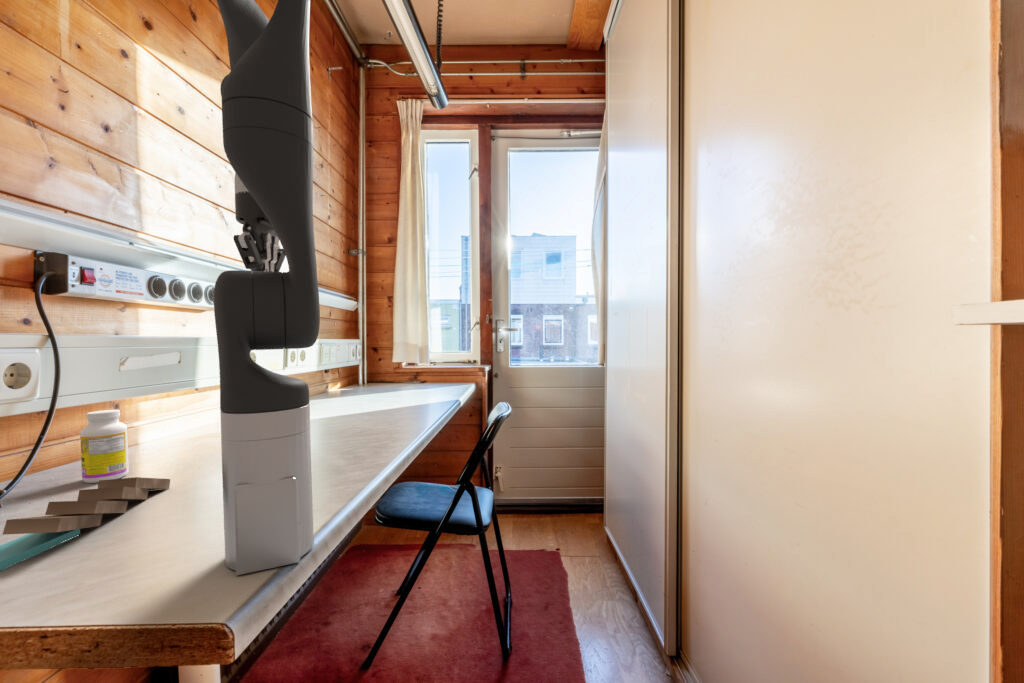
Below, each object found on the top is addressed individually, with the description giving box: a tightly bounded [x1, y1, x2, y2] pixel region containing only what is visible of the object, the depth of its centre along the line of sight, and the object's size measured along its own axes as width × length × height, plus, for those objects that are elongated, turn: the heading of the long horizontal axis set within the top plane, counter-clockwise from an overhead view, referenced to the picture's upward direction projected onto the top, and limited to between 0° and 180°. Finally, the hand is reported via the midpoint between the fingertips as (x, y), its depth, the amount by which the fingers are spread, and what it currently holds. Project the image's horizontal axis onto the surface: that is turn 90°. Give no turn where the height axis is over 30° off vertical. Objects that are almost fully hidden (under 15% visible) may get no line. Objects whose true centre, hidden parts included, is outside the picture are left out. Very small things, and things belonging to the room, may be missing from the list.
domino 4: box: [76, 487, 150, 502], centre depth 68 cm, size 2×5×10 cm
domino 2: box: [0, 529, 81, 572], centre depth 54 cm, size 2×5×10 cm
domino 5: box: [97, 477, 171, 491], centre depth 73 cm, size 2×5×10 cm
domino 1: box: [2, 513, 104, 536], centre depth 57 cm, size 2×5×10 cm
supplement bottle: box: [79, 409, 130, 484], centre depth 85 cm, size 7×7×13 cm
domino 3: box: [45, 500, 129, 516], centre depth 62 cm, size 2×5×10 cm
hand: (263, 296), depth 77 cm, fingers closed
